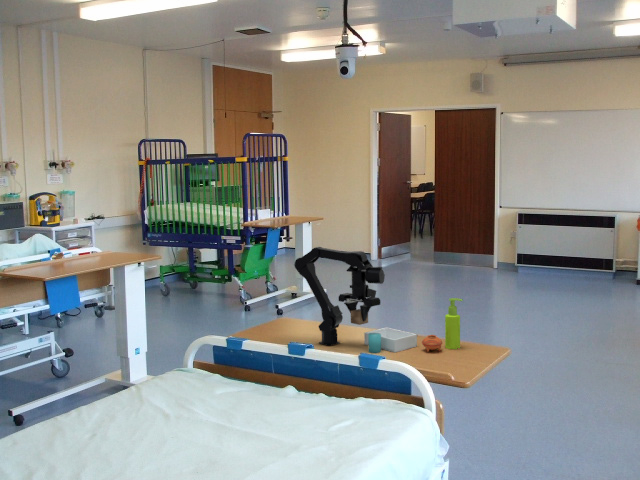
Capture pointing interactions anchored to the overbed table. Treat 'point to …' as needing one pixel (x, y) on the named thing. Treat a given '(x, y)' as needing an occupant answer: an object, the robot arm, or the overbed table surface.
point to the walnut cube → (357, 317)
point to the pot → (432, 342)
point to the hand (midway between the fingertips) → (359, 320)
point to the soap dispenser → (452, 326)
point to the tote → (394, 339)
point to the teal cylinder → (374, 342)
